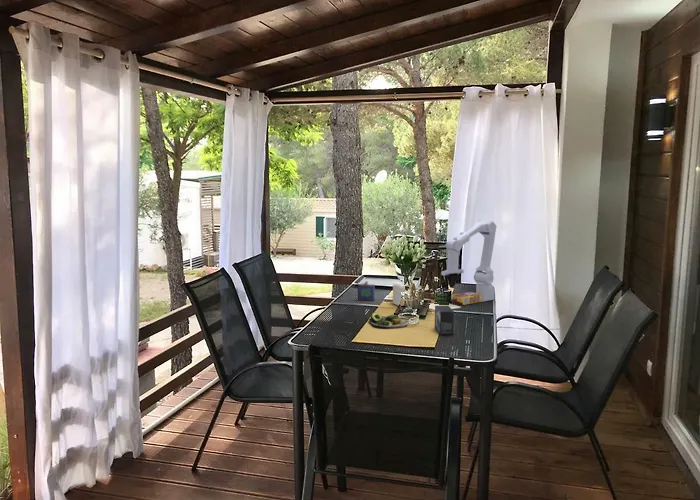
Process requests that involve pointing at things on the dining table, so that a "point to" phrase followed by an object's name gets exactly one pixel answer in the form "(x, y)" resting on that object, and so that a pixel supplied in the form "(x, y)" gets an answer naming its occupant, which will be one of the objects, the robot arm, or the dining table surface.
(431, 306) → the mat
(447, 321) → the small box
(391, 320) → the salad plate
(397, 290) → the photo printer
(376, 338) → the dining table surface
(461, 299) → the candy box
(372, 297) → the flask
